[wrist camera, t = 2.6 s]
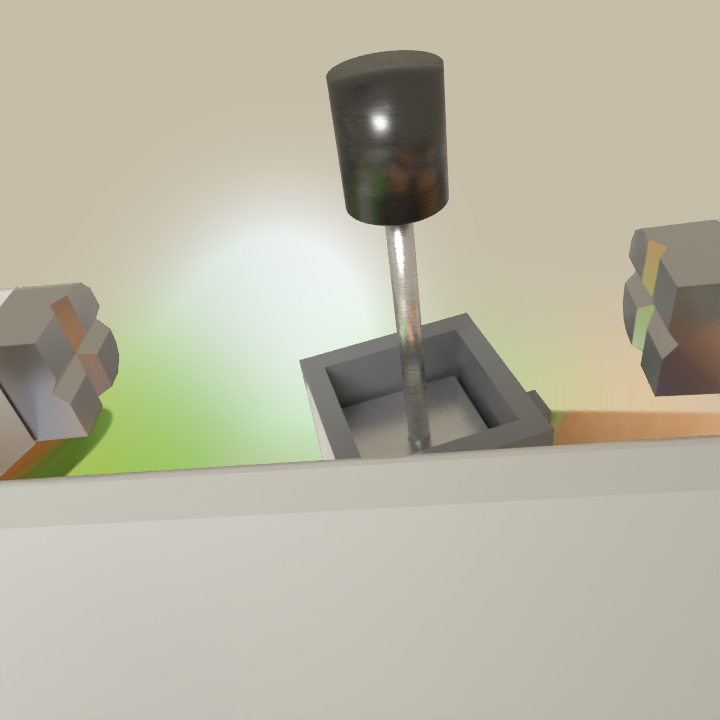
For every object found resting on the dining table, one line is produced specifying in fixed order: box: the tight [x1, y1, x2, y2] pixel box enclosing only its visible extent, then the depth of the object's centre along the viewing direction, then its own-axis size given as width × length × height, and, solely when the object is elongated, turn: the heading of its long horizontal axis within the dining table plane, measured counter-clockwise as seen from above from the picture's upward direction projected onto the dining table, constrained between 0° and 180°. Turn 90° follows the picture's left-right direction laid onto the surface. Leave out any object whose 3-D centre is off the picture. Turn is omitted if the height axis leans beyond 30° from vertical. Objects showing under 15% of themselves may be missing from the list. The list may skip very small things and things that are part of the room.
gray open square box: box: [300, 313, 554, 460], centre depth 34 cm, size 11×9×16 cm
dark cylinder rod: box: [326, 50, 488, 458], centre depth 26 cm, size 6×6×17 cm
